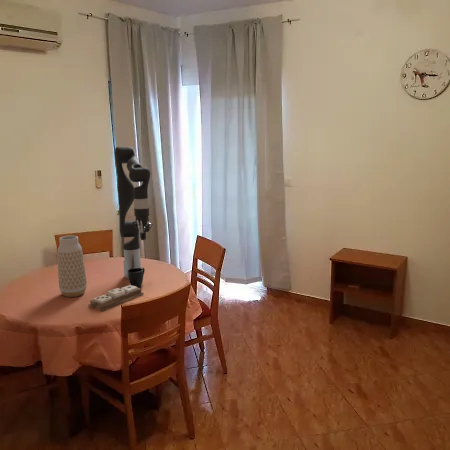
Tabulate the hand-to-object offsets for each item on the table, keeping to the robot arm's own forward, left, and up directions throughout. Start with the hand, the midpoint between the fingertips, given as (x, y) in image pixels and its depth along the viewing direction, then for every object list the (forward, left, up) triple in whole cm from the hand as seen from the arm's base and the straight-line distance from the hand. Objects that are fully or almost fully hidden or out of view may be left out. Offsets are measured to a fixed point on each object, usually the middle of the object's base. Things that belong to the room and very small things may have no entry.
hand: (143, 239), depth 219 cm
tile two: (-3, -17, -26) cm, 31 cm away
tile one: (-3, -9, -27) cm, 28 cm away
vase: (-29, -24, -28) cm, 47 cm away
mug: (-10, +4, -28) cm, 30 cm away
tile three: (-3, -26, -27) cm, 37 cm away
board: (-3, -17, -28) cm, 33 cm away
